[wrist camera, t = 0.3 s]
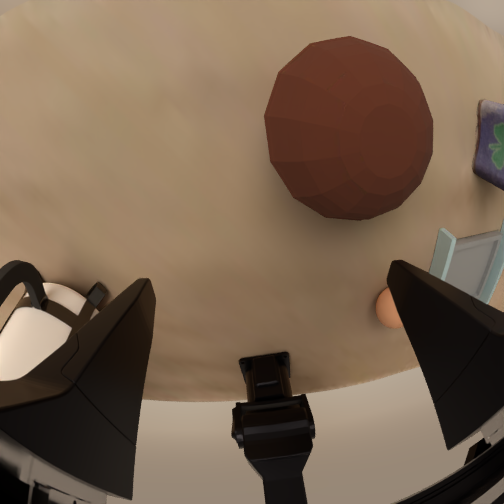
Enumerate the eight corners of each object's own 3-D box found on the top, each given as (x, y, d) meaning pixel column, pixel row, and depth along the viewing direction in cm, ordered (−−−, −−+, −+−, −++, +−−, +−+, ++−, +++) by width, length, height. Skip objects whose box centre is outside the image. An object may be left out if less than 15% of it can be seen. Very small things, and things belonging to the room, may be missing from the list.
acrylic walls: (478, 299, 34) (485, 309, 32) (412, 324, 34) (419, 336, 32) (506, 216, 26) (517, 224, 24) (439, 228, 26) (452, 239, 24)
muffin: (383, 181, 23) (451, 233, 14) (265, 196, 23) (289, 264, 14) (377, 54, 16) (459, 46, 8) (244, 55, 16) (258, 20, 8)
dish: (475, 293, 33) (479, 298, 32) (424, 312, 33) (428, 317, 32) (497, 230, 27) (502, 234, 26) (446, 241, 27) (452, 246, 26)
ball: (399, 303, 31) (417, 330, 27) (366, 312, 31) (382, 341, 27) (407, 273, 29) (428, 300, 25) (372, 281, 29) (391, 311, 25)
